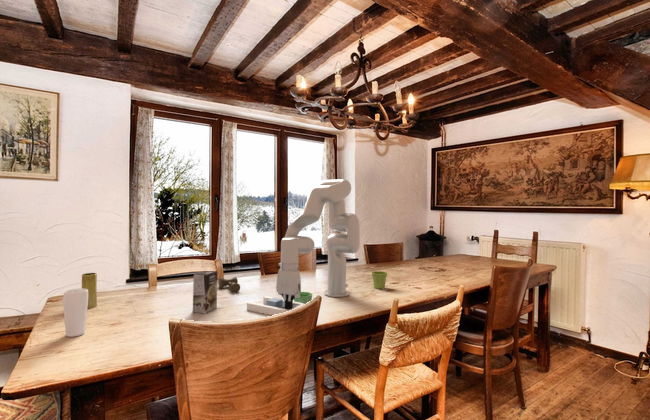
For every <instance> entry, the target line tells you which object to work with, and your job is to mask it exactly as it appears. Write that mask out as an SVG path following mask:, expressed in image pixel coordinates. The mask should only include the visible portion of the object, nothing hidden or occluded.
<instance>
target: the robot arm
mask: <svg viewBox="0 0 650 420" xmlns="http://www.w3.org/2000/svg"><path fill="white" fill-rule="evenodd" d="M351 191H352V185H351V182H350V181H349V180H347V179H342V178H341V179H325V180H321V181H320V182H319V183H318V185H314V186H313V187H311V189H309V193H308V195H307V198H306V202H305V204H304V205H303V206H304V207H303V208H302V209H303V210H302V212H301V214H299V215H298V216H297V217H296V218H295V219H294V220H293V221H292V222H291V223H290V225H288V228H287V230H286V232H285V235H284V237H283V238H282V239H281V241H280V262H279V263H278V267H280V268H279V269H278V272H277V276H276V277H277V278H276V284H275V285H276V286H275V288H276V293H277V294H278V295H279V296H281V297H282V299H284V301H285V308H284V309H287V310H290V309H292V307H293V301H294V299H295V298H298V297H300V292H302V282H301V281H302V280H301V272H300V270H299V256H300V255H301V254H303V255H306V254H309V253H310V254H311V252H313V251H314V248H315V241H314V239H313V238H311V237H309V236H303V235H299V234H300V232H301V231H302V230H304V228H306V227H308V226H310V225H313V224H314V223H315V224H316V223H317V222H318V221H319V220H320V219H321V216H322V212H323V209H324V207H325V204H327V205H328V206H327V207H328V225H329V229H330V230H331V231H333V232H343V233H332V234H329V235H328V236H327V238H326V244H325V245H326V250H327V289H326V290H324V295H325V296H327V297H332V298H343V297H347V296H349V293H350V292H349V291H348V290H346V289H347V288H348V287H349V285H348V283H347V259H346V256H345V254H356V253H357V252H358V251H359V249H360V242H361V241H360V235H361V234H360V219H359V217H358V215H357V214H355V213H349V212H346V204H345V201H344V199H345V198H347V197H348V196H349V195H350V194H351ZM344 232H345V233H344ZM299 254H300V255H299ZM295 294H296V295H295Z"/></svg>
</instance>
